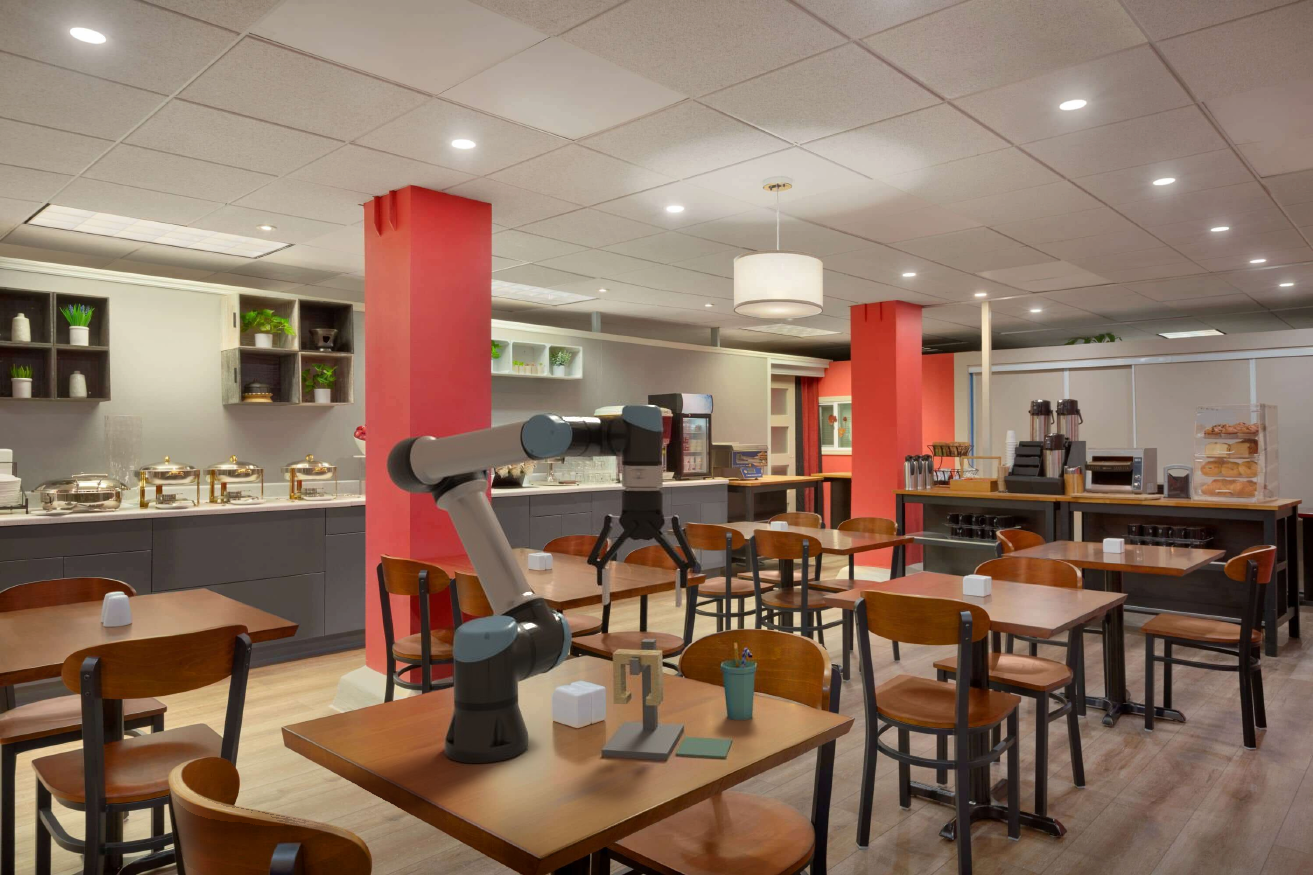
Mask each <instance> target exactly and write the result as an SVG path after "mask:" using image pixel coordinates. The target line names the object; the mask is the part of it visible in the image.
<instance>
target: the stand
mask: <svg viewBox="0 0 1313 875" xmlns="http://www.w3.org/2000/svg"><path fill="white" fill-rule="evenodd" d="M640 642H641V649H640V650H657V638H644V639H642V640H641V641H640ZM629 663H630V664H629V675H630V676H639V675H641V686H642V687H641V688H642V690H641V691H642V693H641V695H642V696H641V698H642V702H641V703H642V721H641V722H639V721H623V723H621V725H620V726H619V727H618V729H617V730H616V731H615V732H614V734H613V735H612V736H611V737H610V738H609V739H608V740H607V742H606V743H605V745H603V747H602V748H601V751H600V752H601V757H607V758H621V759H622V758H624V759H641V760H653V761H656V760H657V761H668V760H669V758H670V756H671V755H672V753H673V751H674V750H675V748H676V746H677V744H678V742H679V741H680V738H681V737H682V735H683V733H684V732H685V725H684V724H682V723H681V724H678V723H676V724H675V723H662V722H661V723H659V721H658V720H659V717H658V716H659V715H658V713H659V712H658V710H659V709H658V707H659V706H654V705H646V698H647V696H648V695H649V694H650V693H651V665H639V658H630V659H629Z"/></svg>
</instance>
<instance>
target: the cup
mask: <svg viewBox="0 0 1313 875" xmlns="http://www.w3.org/2000/svg"><path fill="white" fill-rule="evenodd" d="M733 646H734V658H735V659H729V660H725V661H722V662H721V664H720V671H721V672H722V678H723V679H722V680H723V687H724V698H725V705H726V714H727V716H726V717H727V718H728V719H731V720H734V721H746V720H750V719H753V711H754V709H753V708H754V692H755V678H756V677H755V676H756V671H757V664H758V663H757V662H755V661H751V660H748V659H746V658H747V657H748V658H749V659H751V658H753V654H752V653H751V652H750V650H749V648H747V647H744V648H743V650H742V653H741V654H742V655H741V659H739V652H738V649H739V648H738V643H737V642H734V643H733Z"/></svg>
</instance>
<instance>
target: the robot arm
mask: <svg viewBox="0 0 1313 875" xmlns="http://www.w3.org/2000/svg"><path fill="white" fill-rule="evenodd" d="M663 427H664V426H663V412H662V409H661V408H660V407H659V406H657V405H654V404H653V405H652V404H629V405H624V406H623V407H622V409H621V414H620V416H586V415H585V416H583V415H567V414H558V413H557V414H556V413H553V412H550V413H549V412H548V413H539V414H538V413H537V414H535V415H533V416H531V417H530V418H529V419H527V420H523V421H522V420H521V421H518V422H512V423H507V424H503V425H497V426H493V427H487V428H484V429H479V430H478V429H477V430H473V431H469V432H463V433H459V434H455V435H450V436H444V437H434V436H431V435H424V436H414V437H407V438H405V439H402V440H400V441H399V442H397V443H396V444H395V445H394V446H393V447H392V449H391V450H390V451H389V454H388V456H387V460H386V469H387V473H388V476H389V478H390V480H391V481H392V483H393V484H394V485H395V486H397V487H398V488H399V489H401V490H403V491H404V492H407V493H413V494H431V496H432V498H433V501H434V503H435V505H436V508H438V509H440V510H443V511H446V512H447V513H448V516H449V517H450V519H451V522H452V524H453V526H454V528H455V530H456V533H457V536H458V537H459V539H460V542H461V544H462V546H463V547H464V548H463V549H464V550H465V552H466V555H467V557H468V559H469V561H470V564H471V565H472V567H473V570H474V572H475V574H476V578H478V581H479V583H480V585H481V587H482V590H483V591H484V593H485V596H486V598H487V601H488V602H489V605H490V608H491V609H492V611H493V613H492V614H493V615H490V616H489V615H488V616H486V617H478V618H475V619H472V620H471V619H470V620H469V621H466V622H464V623H462V624H461V625H460V626H458V627H457V629H456V630H455V631H454V635H453V646H452V665H453V669H452V670H453V671H452V672H453V701H454V702H453V705H454V706H453V707H454V708H453V712H452V716H451V719H450V722H449V725H448V729H447V732H446V736H445V739H444V756H446V757H447V758H448V759H450V760H452V761H455V762H459V763H467V764H486V763H488V764H489V763H495V762H500V761H501V762H502V761H505V760H508V759H512V758H515V757H517V756H520V755H521V754H523V753H525V752H526V751H528V750H527V749H528V748H529V734H528V728H527V726H526V723H525V721H524V717H523V714H522V711H521V709H520V706H519V682H522V681H525V680H527V679H530V678H533V677H535V676H538V675H541V674H546V673H548V672H550V671H552V670H553V669H555V668H557V667H559V666H560V665H562V664H563V663H564V661H566V659H567V657H568V655H569V653H570V650H571V646H572V638H573V637H572V631H571V630H572V629H571V627H570V623H569V621H568V620H567V618H566V617H565V616H564V615H563V614H562V613H560V612H558V611H556V610H554V609H549V606H548V604H547V602H546V600H545V599H544V597H543V595H539V594H536V593H533V591H532V589H531V587H530V585H529V582H528V581H527V579H526V576H525V574H524V572H523V570H522V567H521V565H520V564H519V562H518V559H517V557H516V556H515V555H516V554H515V553H514V551H513V549H512V546H511V544H510V543H509V541H508V539H507V536H506V535H505V532H504V530H503V528H502V526H501V524H500V522H499V519H498V518H497V515H496V513H495V511H494V510H493V507H492V505H491V502H490V501H489V499H488V497H487V494H486V493H487V491H488V488H489V481H488V478H489V476H490V471H489V470H491V469H496V468H497V469H498V468H501V467H508V466H512V465H519V464H523V463H530V462H535V461H536V462H537V461H542V460H543V461H544V460H549V459H555V458H565V457H566V458H567V457H570V458H571V457H572V458H574V457H576V458H577V457H579V458H580V457H581V458H591V457H593V458H594V457H599V458H601V457H621V486H622V488H624V489H623V491H622V492H621V513H620V516H618V515H613V514H612V513H611V514H610V513H609V514H606V515H605V516H604V520H603V527H602V529H601V532H600V533H599V535H598V538H597V540H596V542H595V544H594V545H593V547H592V549H591V551H590V554H589V556H588V558H587V560H586V564H588V565H591V566H593V567H595V568H596V584H597V586H599V587H602V588H601V601H602V602H601V605H603V606H607V605H608V604H609V603H610V600H611V598H610V593H611V592H610V591H611V590H610V585H611V584H610V578H611V576H610V575H611V574H610V567H609V566H607V564H608V563H609V562H610V561H611V559H612V558H613V557H614V556H615V554H616V553H617V552H618V551H619V550H620V549H621V547H622V546H623V545H624V544H625V543H626V542H627V540H629V538H630V540H633V541H639V540H643V541H651V540H653V539H654V540H655V541H656V542H657V544H659V546H660V547H661V548H662V549H663V550H664V552H666V554H667V555H668V556H669V558H670V559H671V560H672V562H674V564H675V565H676V566H677V569H676V571H675V608H680V607H681V606H682V604H683V602H682V600H683V599H682V597H683V589H686V588H687V587H688V581H689V580H688V579H689V578H688V573H689V570H690V569H692V568H693V569H694V568H695V567H696V566H697V565H698V563H699V562H698V560H697V557H696V555H695V554H694V551H693V550H692V549H693V548H692V547H691V545H690V543H689V541H688V539H687V537H686V535H685V533H684V531H683V528H682V526H681V517H680V516H679V515H677V514H676V515H673V516H667V517H666V516H665V515H664V511H663V509H664V507H663V498H664V496H663V493H664V492H663V491H662V490H660V488H662V487H663V485H664V484H663V483H664V482H663V479H664V476H663V475H664V473H663V470H664V466H663V438H664V436H663V434H664V433H663V432H664V428H663ZM617 524H619V525H620V526H621V527H622V529H623V532H622V533H620V535H619V536H618V537H617V539H616V540H615V541H614V542H613V544H612V545H611V546H610V547H609V548H608V550H607V551H606V552H605V553H604V554H603V556H601V558H600V559H599V556H600V555H601V553H602V550H603V548H604V547H605V545H606V542H607V540H608V538H609V536H610V534H611V532H612V530H613V528H615V527H616V526H617ZM665 524H667V526H668V528H669V529H672V532H673V534H674V536H675V538H676V541H677V542H678V544H679V546H680V548H681V551H682V552H683V554H684V556H685V559H686V560H685V559H684V558H683V557H682V555H681V554H680V553H679V552H678V551H677V550H676V548H675V547H674V546H673V544H671V542H670V541H669V539H668V538H667V536H666V535H665V534H664V533H663V531H662V528H663V527H664V525H665Z"/></svg>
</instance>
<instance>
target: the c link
mask: <svg viewBox="0 0 1313 875" xmlns="http://www.w3.org/2000/svg"><path fill="white" fill-rule="evenodd" d="M630 658H639V665H651V693H650V694H649V695H648V696H647V698H646V705H654V706H658V707H659V706H661V704H662V703H663V701H664V681H663V680H664V675H663V674H664V672H663V665H664V664H663V650H659V649H658V650H657V649H656V650H641V649H625V648H624V649H623V648H622V649H621V648H618V649H617V650H615V651H614V652H613V653H612V670H613V671H612V677H613V680H612V682H613V704H614V705H615V704H616V705H628V704H629V703H630V701H631V700H632V691H627V672H626V671H627V669H626V668H627V666H626V665H630V663H629V659H630Z"/></svg>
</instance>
